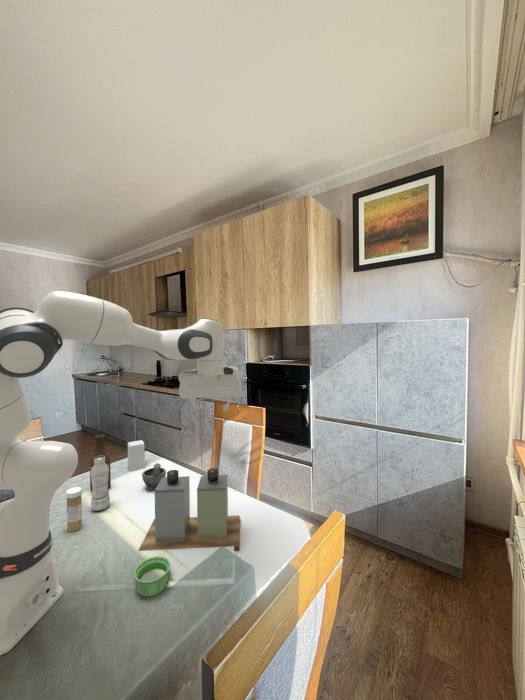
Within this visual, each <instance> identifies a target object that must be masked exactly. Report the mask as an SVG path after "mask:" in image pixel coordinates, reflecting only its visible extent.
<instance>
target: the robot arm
mask: <svg viewBox="0 0 525 700" xmlns="http://www.w3.org/2000/svg"><path fill="white" fill-rule="evenodd" d="M66 340H74V341H80V342H84V343H88V344H91V345H93V344H94V345H98V346H99V345H101V346H107V347H108V346H110V347H120V346H124V345H130V346H133V347H136V348H137V347H138V348H142V349H144V350H145V349H146V350H150V351H152V352H154V353H155V354H157V355H158V356H160V357H161V358H162V359H165V360H168V361H175V360H179V361H194V360H196V368H195V369H194V368H193V369H182V370H181V371H179V373H178V382H179V388H178V395H179V397H180V398H181V399H189V400H190V403H191V405H192V407H193V412H194V413H197V412H198V413H199V412H200V405H197V403H196V401H197V399H216V398H217V399H218V398H219V399H221V398H222V399H223V398H224V399H225V398H226V401H227V403H226V404H223V406H222V407H223V408H222V409H223V412H229V405H230V404H231V402H232V398H240V397H241V396H242V395H243V389H242V381H241V376H239V375H238V373H239V369H238V367H236V366H233V365H230V364H226V362H225V356H224V349H225V333H224V328H223V324H222V323H221V321H218V319H217V320H216V319H212V318H199V320H198V321H197V322H195V323H194V324H192V325H190V326H187V327H185V328H180V329H179V328H178V329H172V328H171V329H169V328H168V329H163V330H156V329H152V328H149V327H146V326H143V325H140V324H138V323H135V322H134V321H133V317H132V315H131V313H130V311H128V309H126V308H124V307H123V306H120V305H118V304H116V303H114V302H111V301H108V300H105V299H102V298H98V297H95V296H90V295H86V294H83V293H82V294H81V293H77V292H71V291H64V290H54V291H51V292H48V293H46V295H45V296H44V297H43V298H42V300H41V301H40V303H39V305H38V308H37V309H36V311H33V310H31V309H29V308H26V307H21V306H20V307H19V306H13V307H12V306H11V307H6V308H3V309H2V310H0V490H13V493H14V497H13V500H12V501H10V502H8V503H6V504H4V506H3V507H1V508H0V656H2V655H4V654H6V653H9V651H11V650H12V649H13V648H14V647H15V646H16V645H17V644H18V643H19V642H20V641H21V639H23V637H24V636H25V635H26V634H27V633H28V632H29V631H30V630H31V629H32V628H33V627H34V625H36V623H38V622H39V621H40V620H41V619H42V618H43V616H44V615H45V614H46V613H47V612H48V611H49V610H50V609H51V608H52V607H53V606H54V605H55V603H57V602H58V601H59V599H60V598H61V597H62V596H63V595H64V588H63V587H62V586H61V585H60V581H59V575H58V569H57V562H56V559H55V558H54V555H53V553H52V552H51V551H52V550H51V549H52V547H53V546H52V545H53V543H52V542H53V536H52V531H51V530H50V511H51V510H50V508H51V503H52V501H53V497H54V495H55V493H56V492H57V491H58V489H60V487H61V486H62V485H63V484H65V483H66V482H67V481H68V480H70V478H71V477H72V476H73V475H74V473H75V472H76V469H77V466H78V465H79V455H78V452H77V450H76V448H75V446H74V445H73V444H71V443H68V442H61V441H57V440H35V441H34V440H33V441H30V440H29V441H25V440H22V439H20V438H19V436H21V435H22V434H23V433H24V432H25V431H27V429H28V428H29V427H30V424H31V422H32V421H31V420H32V417H33V416H32V412H31V410H30V407H29V405H28V401H27V399H26V397H25V395H24V392H23V391H24V390H23V389H22V386H21V384H20V381H19V379H20V378H21V379H22V378H29V377H33V376H35V375H37V374H39V373H41V372H42V371H44V370H45V369H46V368H47V367H48V366H49V364H50V363H51V362H52V360H53V358H55V355H56V354H58V352H59V351H60V349H61V348H62V347H63V345H64V341H66Z"/></svg>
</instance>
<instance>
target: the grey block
mask: <svg viewBox="0 0 525 700" xmlns="http://www.w3.org/2000/svg"><path fill="white" fill-rule="evenodd" d="M190 493H191V492H190V476H179V481H178V482H177V483H174V484H172V485H171V484H168V483H167V476H165V477H162V479H161V481H160V482H159V484H158V486H157V487H156V489H155V491H154V519H155V542H170V541H185V538H186V535H187V531H188V528H189V525H190V517H191V510H190V509H191V508H190V506H191V505H190V504H191V501H190Z"/></svg>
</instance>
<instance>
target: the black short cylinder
mask: <svg viewBox="0 0 525 700" xmlns="http://www.w3.org/2000/svg"><path fill="white" fill-rule="evenodd" d="M179 475H180V474H179V470H178V469H171V470H170V469H169V470H168V471H166V477H167V483H168V484H171V485H172V484H174V483H177V482H178V481H179V477H180V476H179Z"/></svg>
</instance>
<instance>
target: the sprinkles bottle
mask: <svg viewBox="0 0 525 700" xmlns="http://www.w3.org/2000/svg"><path fill="white" fill-rule="evenodd" d="M82 489H83V488H82V487H80V486H74V487H71V488H69V489H67V490H66V491H65V497H66V498H65V499H66V525H67V526H66V531H67V532H69V533H72V532H76V531H79V530H80V529H81V528H82V527H83V519H82V518H83V509H82V508H83V505H82V504H83V502H82V495H83V494H82V493H83V490H82Z"/></svg>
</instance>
